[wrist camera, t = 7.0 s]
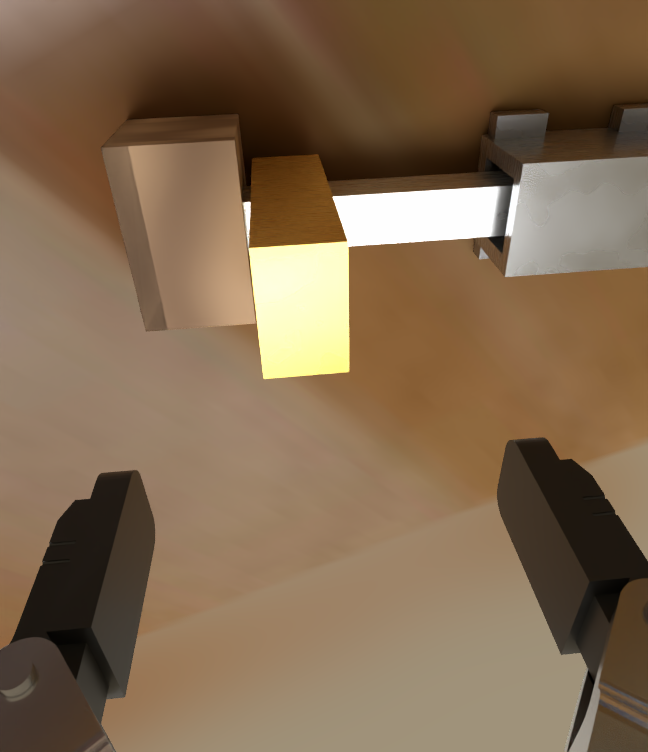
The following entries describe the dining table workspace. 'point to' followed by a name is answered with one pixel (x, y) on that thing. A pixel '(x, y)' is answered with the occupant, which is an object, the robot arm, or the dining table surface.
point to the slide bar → (342, 245)
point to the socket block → (183, 219)
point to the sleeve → (569, 193)
